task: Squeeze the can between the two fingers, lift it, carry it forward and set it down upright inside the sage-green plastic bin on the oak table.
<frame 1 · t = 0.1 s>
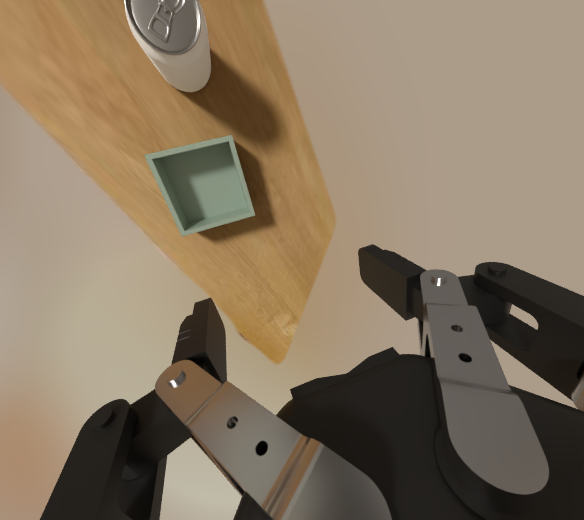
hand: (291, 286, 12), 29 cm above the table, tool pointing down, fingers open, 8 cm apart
bin: (207, 184, 36), on the table
can: (184, 62, 30), on the table
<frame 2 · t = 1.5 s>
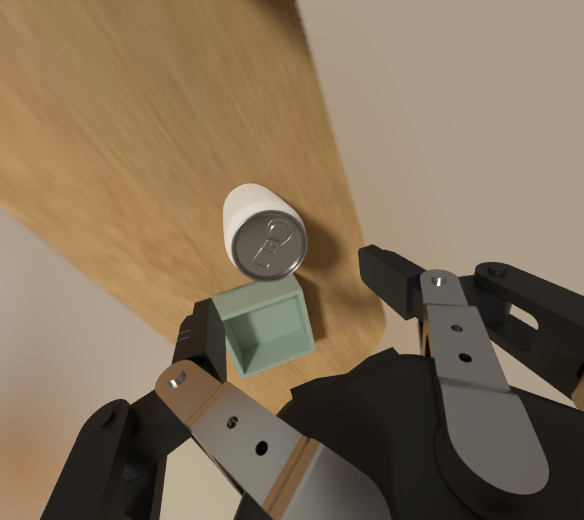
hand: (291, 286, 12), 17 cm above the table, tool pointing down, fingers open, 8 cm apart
bin: (263, 312, 34), on the table
can: (251, 211, 28), on the table
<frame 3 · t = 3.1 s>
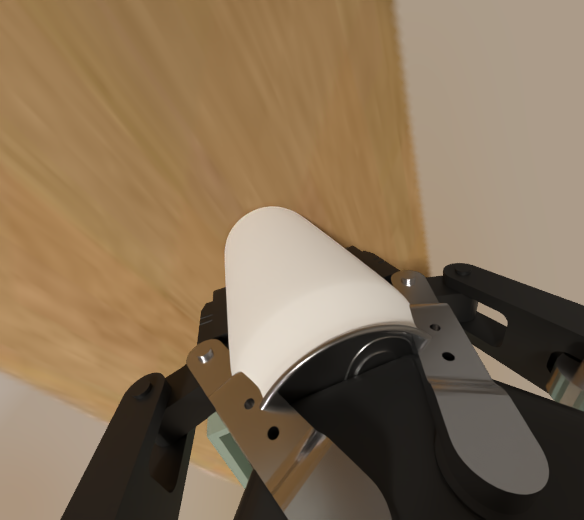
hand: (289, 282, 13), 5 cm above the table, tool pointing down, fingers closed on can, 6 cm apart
bin: (283, 387, 23), on the table
can: (270, 249, 17), on the table, touching gripper
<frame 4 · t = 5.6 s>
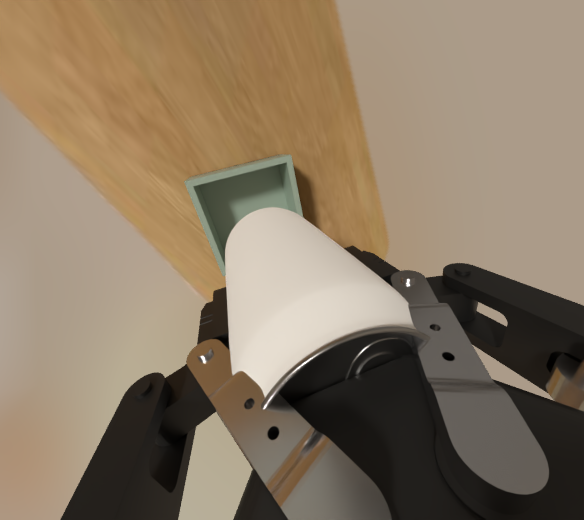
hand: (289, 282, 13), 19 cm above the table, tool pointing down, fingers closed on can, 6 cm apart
bin: (249, 209, 30), on the table
can: (270, 249, 17), point 14 cm above the table, touching gripper
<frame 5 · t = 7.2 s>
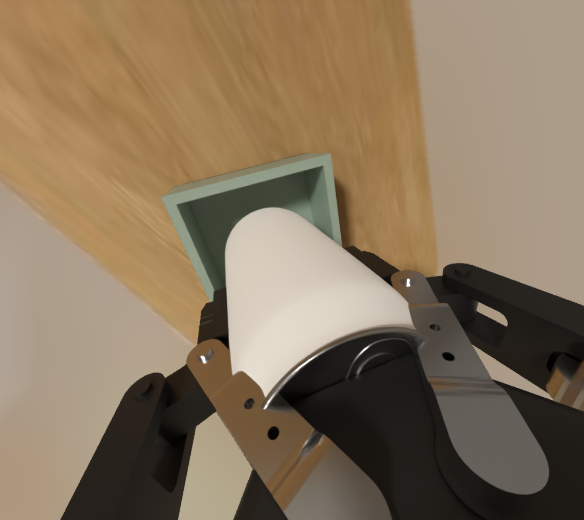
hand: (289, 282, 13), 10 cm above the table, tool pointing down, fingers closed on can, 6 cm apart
bin: (261, 230, 21), on the table
can: (270, 249, 17), point 5 cm above the table, touching gripper
when the fingers open (6 cm above the table, at t = 8.4 s): can drops 1 cm, resting on bin.
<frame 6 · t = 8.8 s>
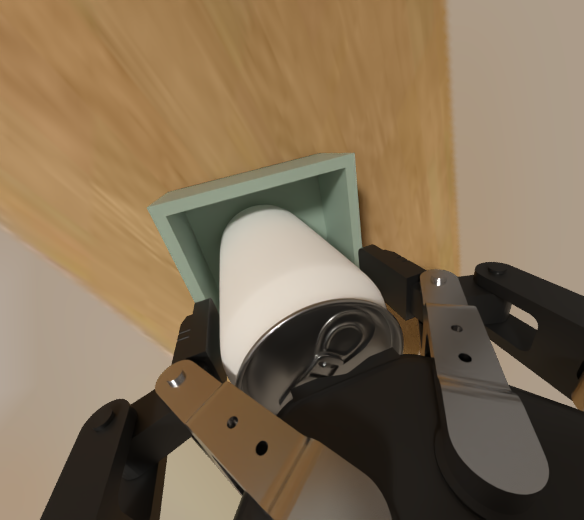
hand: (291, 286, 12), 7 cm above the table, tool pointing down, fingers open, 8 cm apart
bin: (267, 242, 18), on the table
can: (263, 244, 18), resting on bin
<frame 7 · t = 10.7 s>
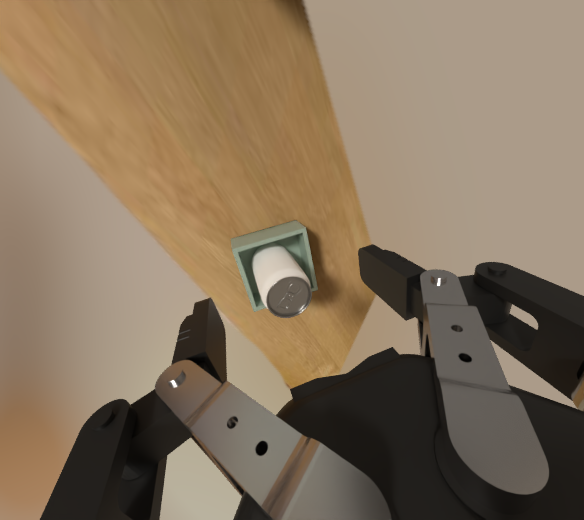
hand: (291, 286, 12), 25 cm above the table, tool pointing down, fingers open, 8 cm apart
bin: (272, 259, 39), on the table
can: (270, 260, 39), resting on bin
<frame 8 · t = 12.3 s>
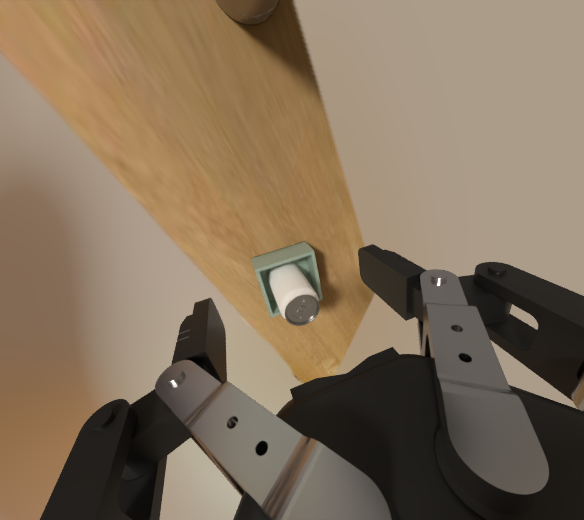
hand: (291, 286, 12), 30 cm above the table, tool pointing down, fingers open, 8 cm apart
bin: (284, 273, 47), on the table
can: (283, 274, 46), resting on bin
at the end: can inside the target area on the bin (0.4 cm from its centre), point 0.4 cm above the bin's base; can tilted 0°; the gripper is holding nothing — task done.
